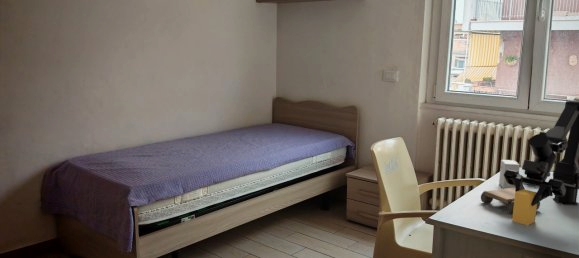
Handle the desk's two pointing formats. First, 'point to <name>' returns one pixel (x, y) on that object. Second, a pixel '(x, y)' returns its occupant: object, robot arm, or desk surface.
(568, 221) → the desk surface
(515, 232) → the desk surface
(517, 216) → the yellow upright rectangular block
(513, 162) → the small box
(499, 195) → the dolly
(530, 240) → the desk surface
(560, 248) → the desk surface
